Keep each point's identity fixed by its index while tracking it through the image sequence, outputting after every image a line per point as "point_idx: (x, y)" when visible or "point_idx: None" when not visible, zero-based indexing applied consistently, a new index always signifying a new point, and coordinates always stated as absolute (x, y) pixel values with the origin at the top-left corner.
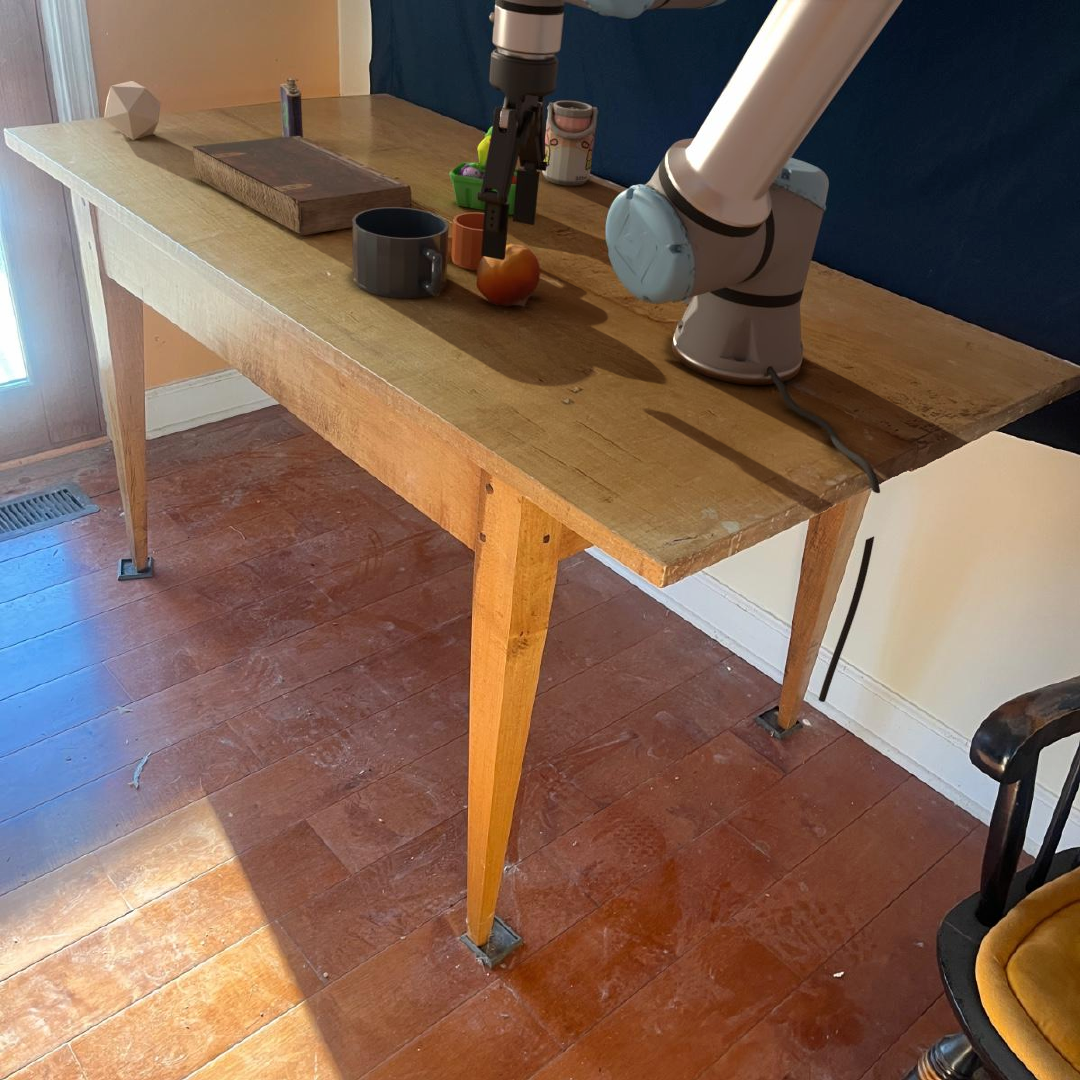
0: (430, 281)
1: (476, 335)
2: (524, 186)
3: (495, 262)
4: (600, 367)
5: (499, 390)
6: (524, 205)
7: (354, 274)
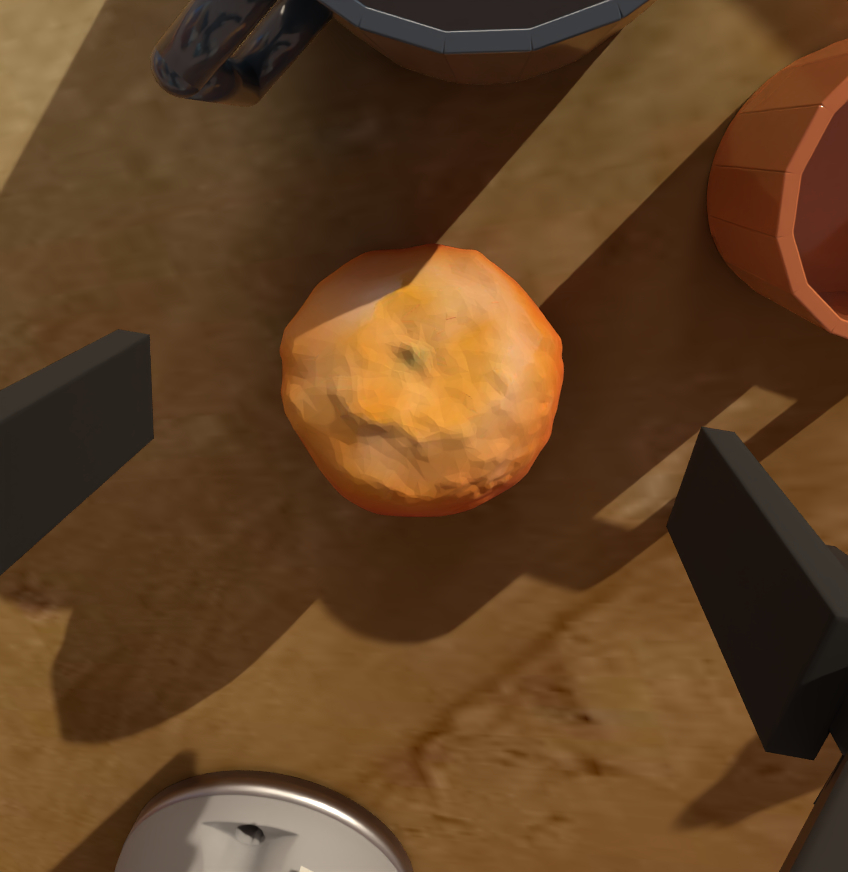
0: (347, 28)
1: (90, 290)
2: (757, 594)
3: (305, 360)
4: (71, 624)
5: None
6: (710, 531)
7: None
